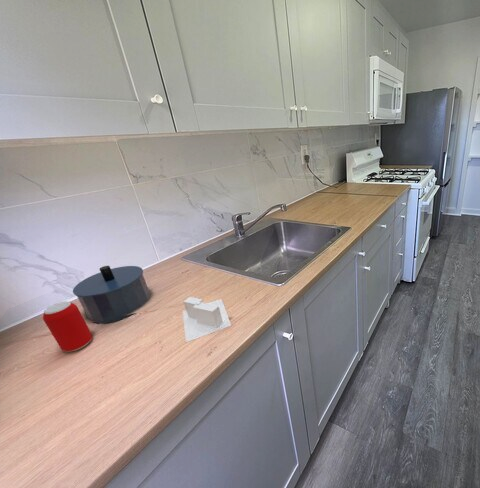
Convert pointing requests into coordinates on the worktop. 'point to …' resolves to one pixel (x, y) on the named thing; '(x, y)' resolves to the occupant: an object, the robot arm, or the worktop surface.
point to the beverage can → (67, 326)
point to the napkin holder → (203, 317)
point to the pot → (116, 303)
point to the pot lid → (107, 281)
